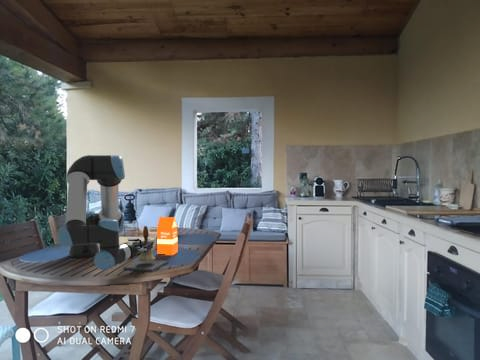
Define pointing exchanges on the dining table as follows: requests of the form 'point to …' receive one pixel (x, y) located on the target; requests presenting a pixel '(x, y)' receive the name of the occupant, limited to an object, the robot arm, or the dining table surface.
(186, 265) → the dining table surface
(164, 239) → the orange juice
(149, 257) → the hand bell
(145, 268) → the place mat
